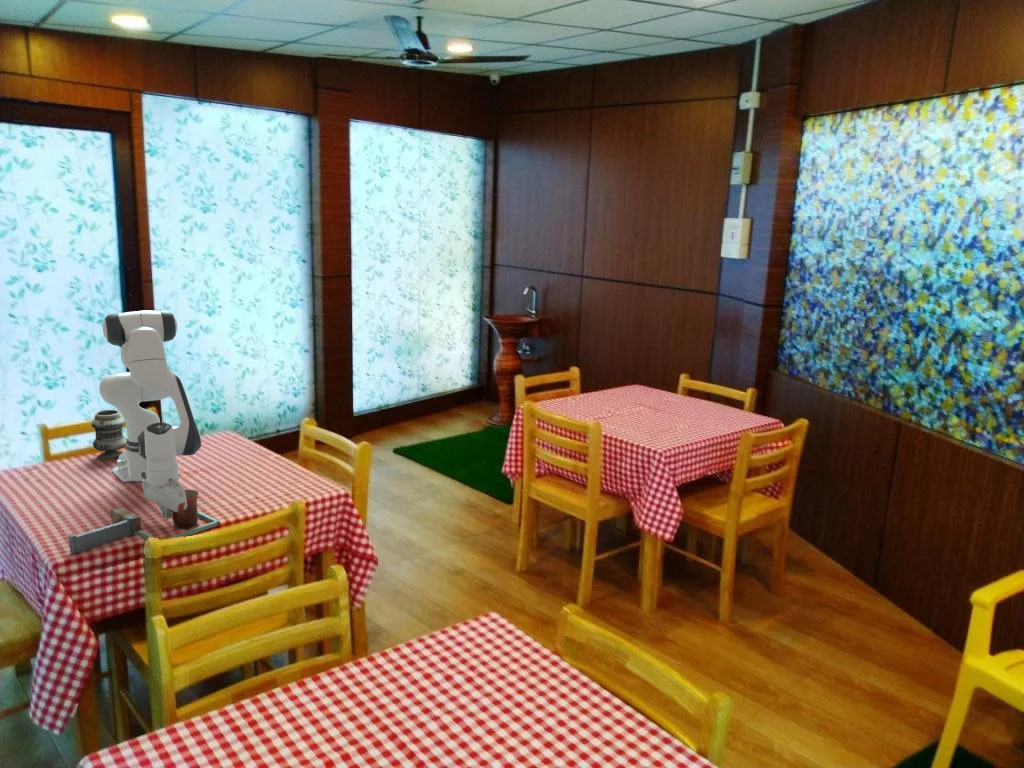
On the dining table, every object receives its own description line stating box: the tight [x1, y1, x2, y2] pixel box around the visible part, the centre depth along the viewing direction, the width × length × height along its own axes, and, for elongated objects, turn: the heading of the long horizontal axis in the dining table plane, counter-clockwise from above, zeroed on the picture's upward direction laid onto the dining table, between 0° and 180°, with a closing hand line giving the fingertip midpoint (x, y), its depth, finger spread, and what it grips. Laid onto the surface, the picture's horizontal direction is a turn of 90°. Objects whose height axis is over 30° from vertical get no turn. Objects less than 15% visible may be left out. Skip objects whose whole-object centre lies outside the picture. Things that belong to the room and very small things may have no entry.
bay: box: [137, 511, 221, 539], centre depth 243 cm, size 12×20×1 cm, turn 142°
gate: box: [67, 516, 137, 554], centre depth 232 cm, size 2×18×5 cm, turn 142°
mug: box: [171, 488, 200, 530], centre depth 243 cm, size 12×9×10 cm
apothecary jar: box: [90, 409, 128, 461], centre depth 307 cm, size 12×12×18 cm
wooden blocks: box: [110, 506, 143, 532], centre depth 252 cm, size 13×21×4 cm, turn 142°
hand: (167, 517), depth 247 cm, fingers closed
